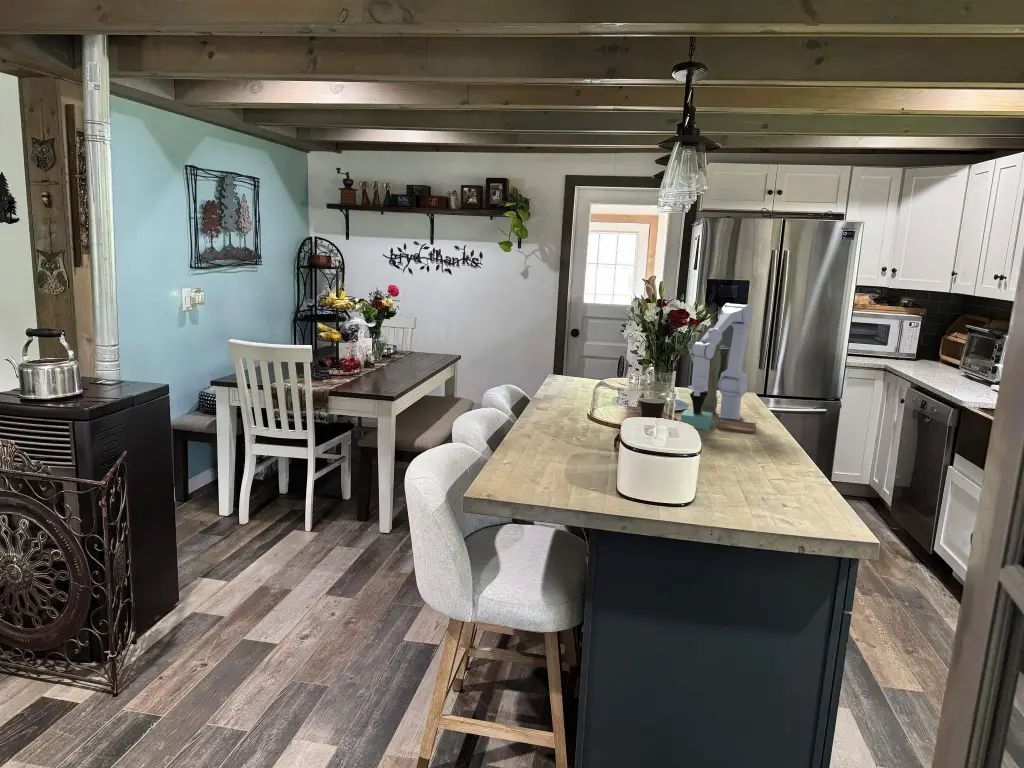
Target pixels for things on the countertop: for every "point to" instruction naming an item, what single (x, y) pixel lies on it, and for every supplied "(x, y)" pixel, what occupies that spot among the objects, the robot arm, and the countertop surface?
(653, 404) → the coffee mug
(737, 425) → the walnut board
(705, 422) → the cover
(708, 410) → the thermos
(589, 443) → the countertop surface
